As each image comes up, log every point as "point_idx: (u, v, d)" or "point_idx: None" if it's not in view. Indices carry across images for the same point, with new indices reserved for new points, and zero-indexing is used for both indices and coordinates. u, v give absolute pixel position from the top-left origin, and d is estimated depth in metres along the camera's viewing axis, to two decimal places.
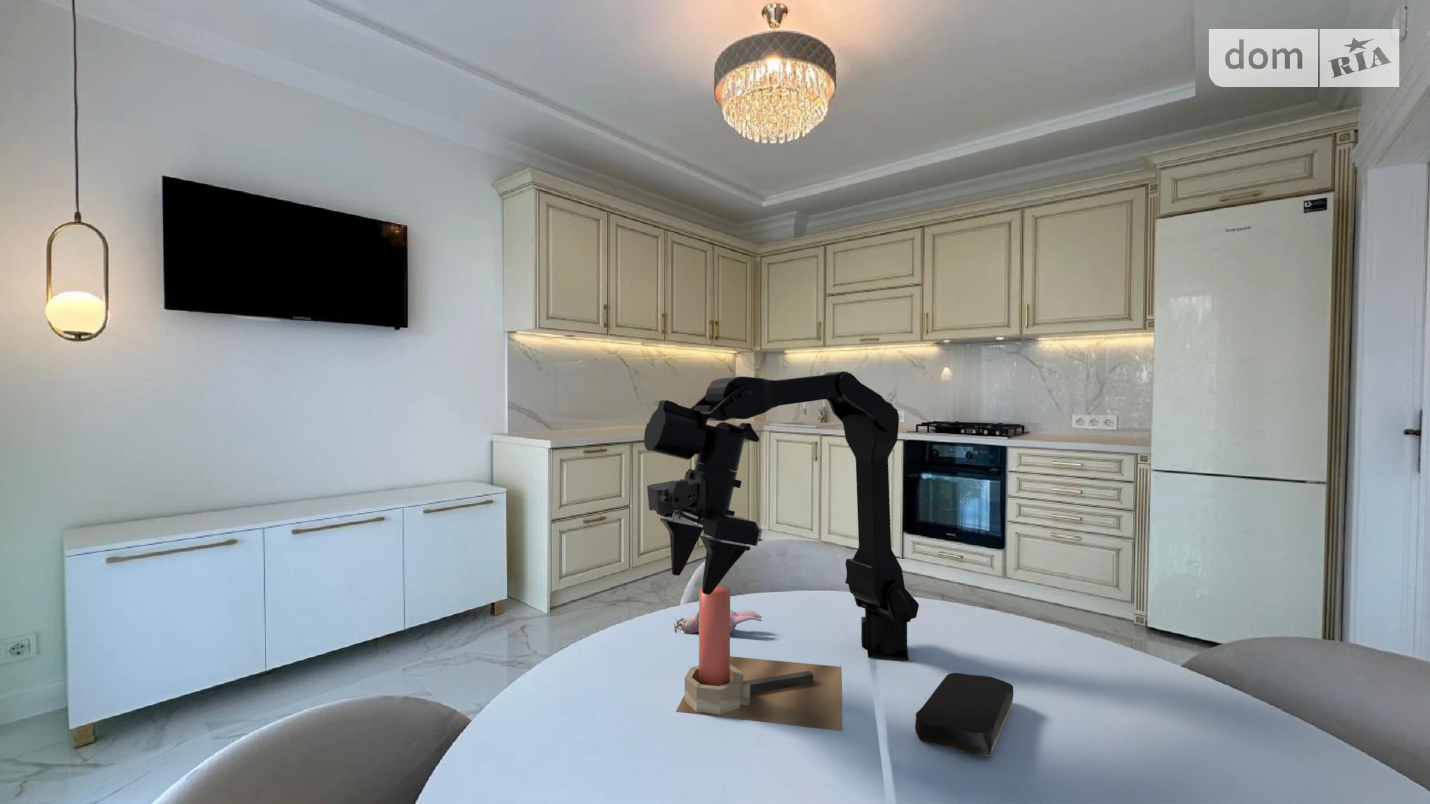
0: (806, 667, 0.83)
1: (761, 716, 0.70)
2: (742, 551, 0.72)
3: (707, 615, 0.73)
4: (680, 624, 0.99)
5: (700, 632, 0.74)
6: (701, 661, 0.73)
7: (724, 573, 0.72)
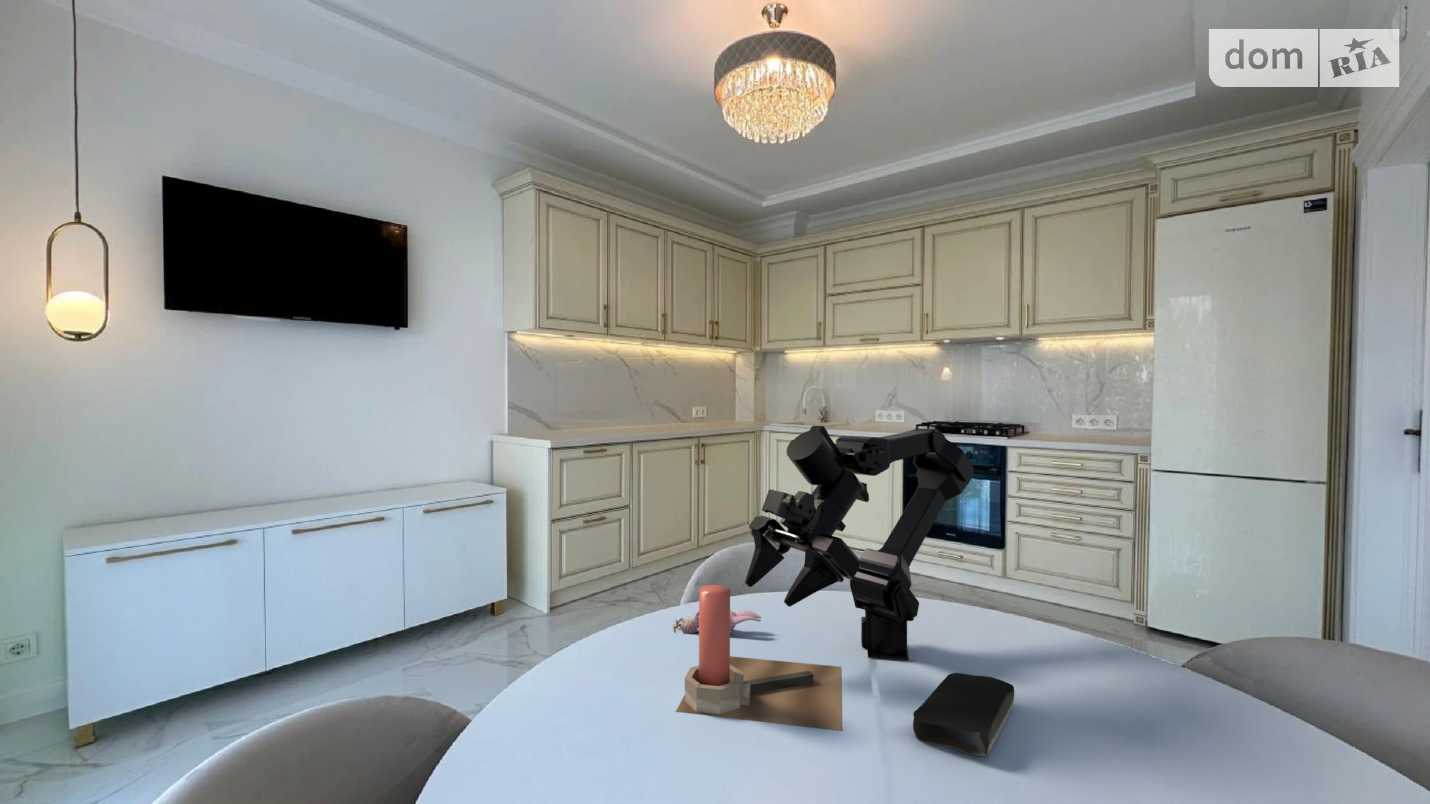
0: (806, 667, 0.83)
1: (761, 716, 0.70)
2: (834, 581, 0.76)
3: (707, 615, 0.73)
4: (679, 624, 0.99)
5: (700, 632, 0.74)
6: (701, 661, 0.73)
7: (810, 593, 0.75)
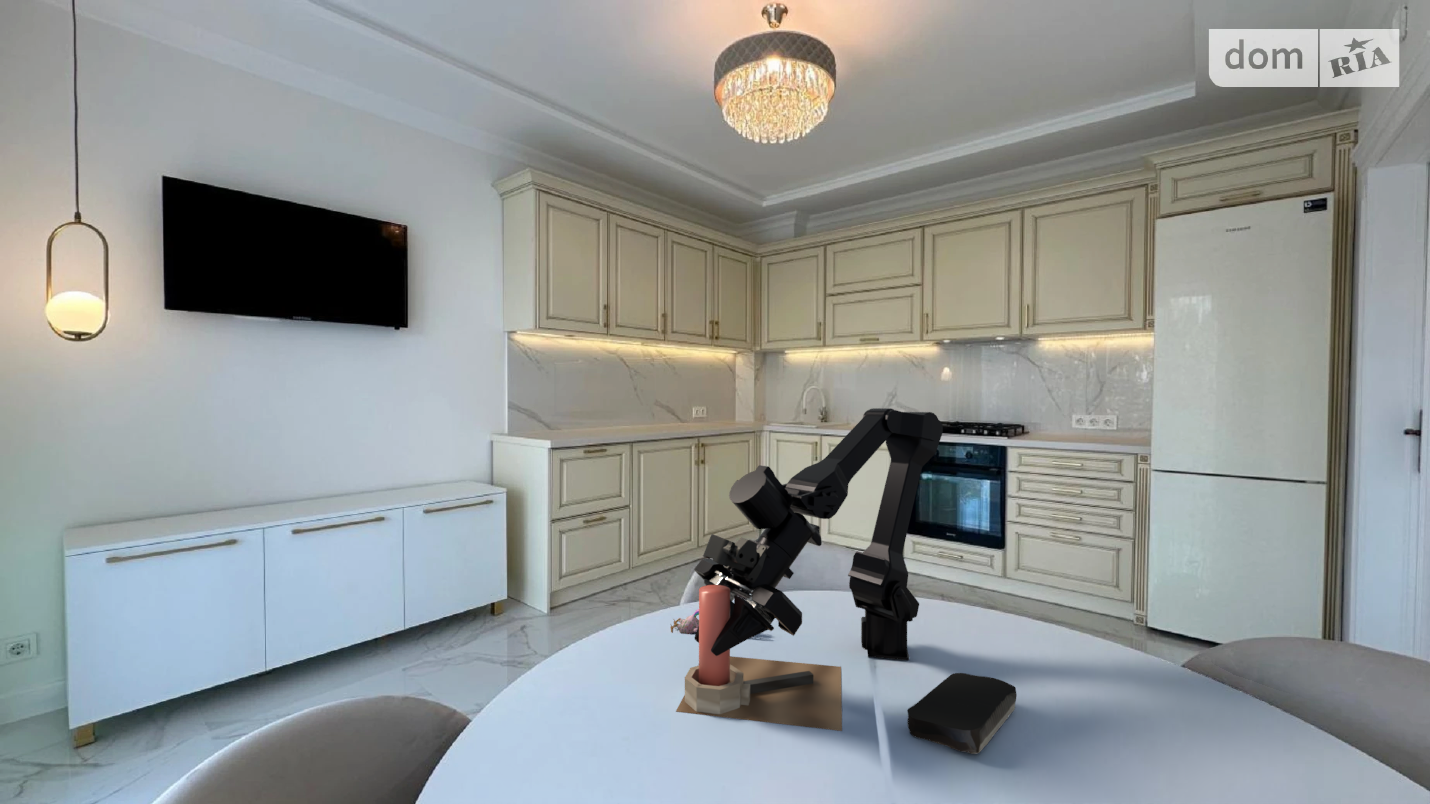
0: (806, 667, 0.83)
1: (761, 716, 0.70)
2: (764, 629, 0.73)
3: (707, 615, 0.73)
4: (676, 624, 0.98)
5: (700, 632, 0.74)
6: (701, 661, 0.73)
7: (738, 642, 0.72)
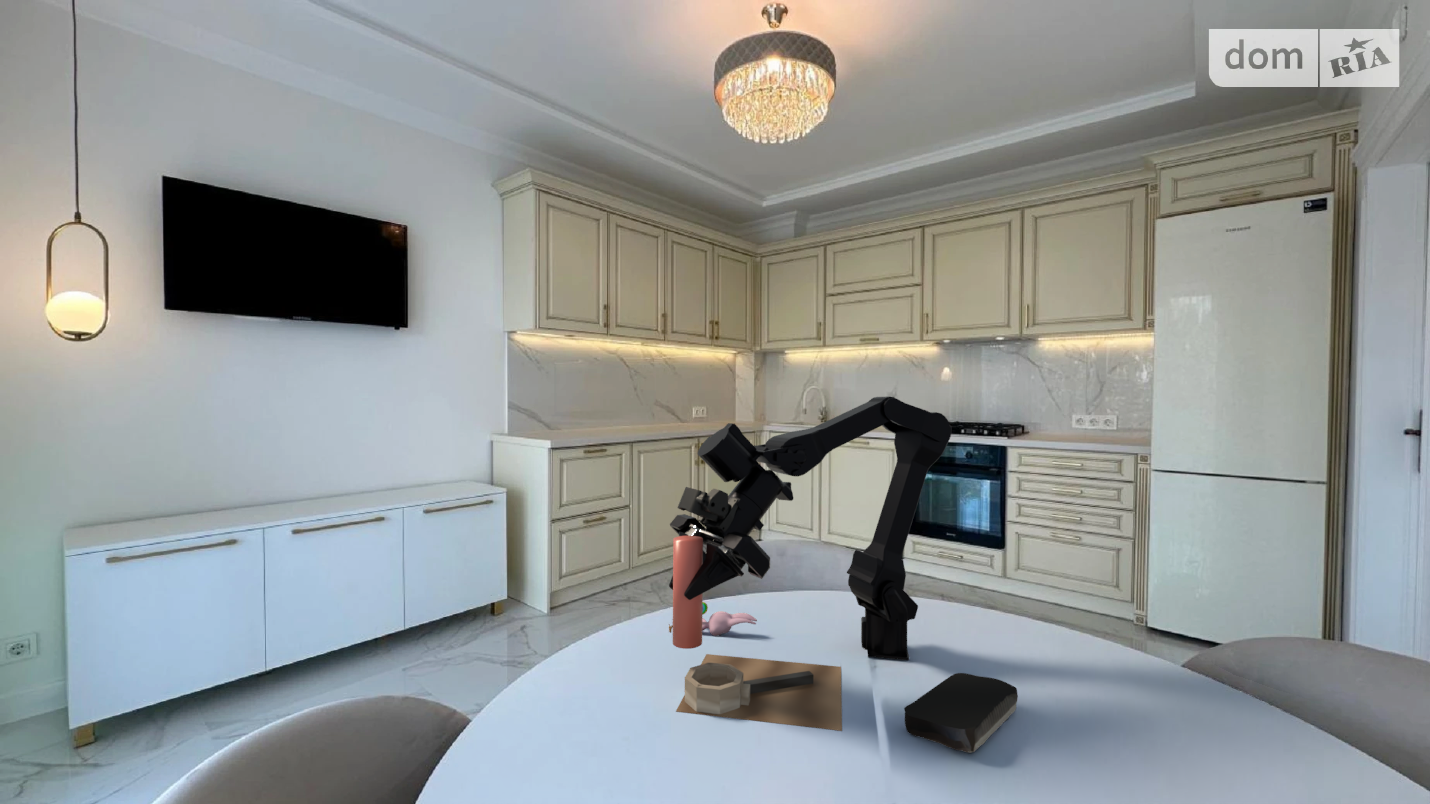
0: (806, 667, 0.83)
1: (761, 716, 0.70)
2: (734, 575, 0.77)
3: (681, 562, 0.77)
4: None
5: (674, 579, 0.77)
6: (675, 606, 0.77)
7: (710, 587, 0.76)
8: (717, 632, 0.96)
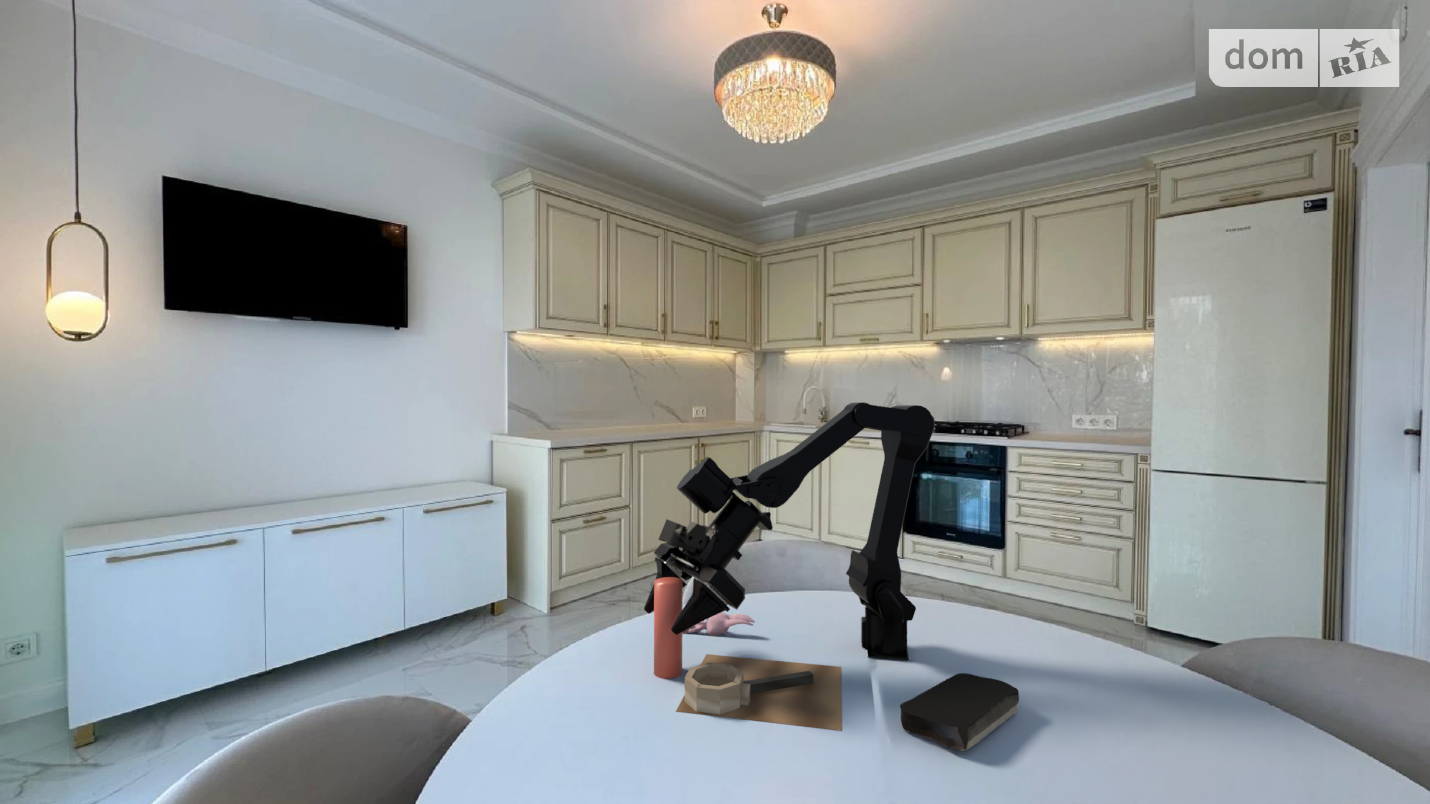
0: (806, 667, 0.83)
1: (761, 716, 0.70)
2: (721, 610, 0.78)
3: (661, 604, 0.80)
4: None
5: (655, 620, 0.81)
6: (655, 646, 0.81)
7: (697, 622, 0.78)
8: (714, 633, 0.96)
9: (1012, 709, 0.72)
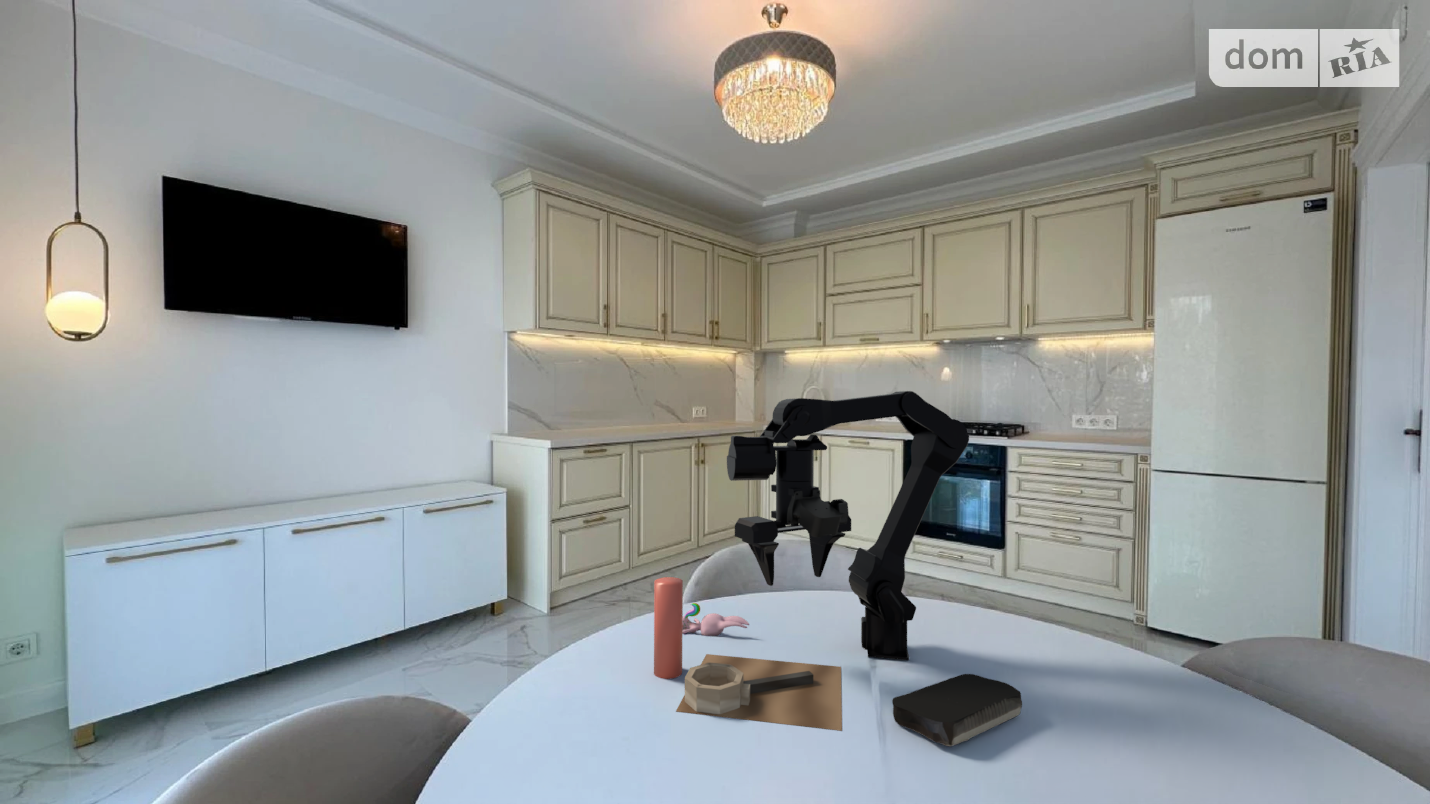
0: (806, 667, 0.83)
1: (761, 716, 0.70)
2: None
3: (661, 604, 0.80)
4: None
5: (655, 620, 0.81)
6: (655, 646, 0.81)
7: None
8: (707, 634, 0.95)
9: (1012, 711, 0.71)
